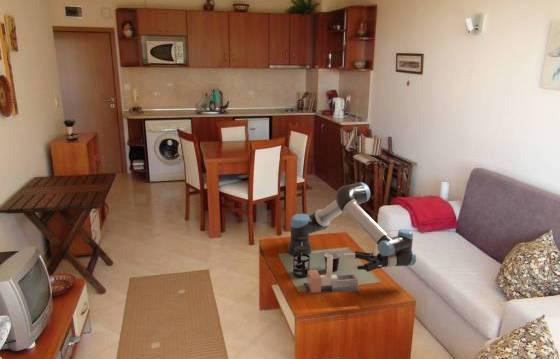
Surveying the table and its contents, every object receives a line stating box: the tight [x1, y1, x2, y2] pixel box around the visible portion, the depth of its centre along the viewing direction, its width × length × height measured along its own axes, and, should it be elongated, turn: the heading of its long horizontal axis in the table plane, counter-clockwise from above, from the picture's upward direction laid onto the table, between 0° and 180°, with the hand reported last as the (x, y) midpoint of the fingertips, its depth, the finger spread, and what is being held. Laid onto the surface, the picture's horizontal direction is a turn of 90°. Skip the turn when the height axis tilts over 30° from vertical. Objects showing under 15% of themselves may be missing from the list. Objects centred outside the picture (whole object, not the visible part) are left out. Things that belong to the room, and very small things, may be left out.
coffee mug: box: [324, 252, 341, 273], centre depth 256 cm, size 12×9×10 cm
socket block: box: [306, 269, 321, 293], centre depth 232 cm, size 10×5×8 cm, turn 9°
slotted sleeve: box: [302, 273, 360, 295], centre depth 234 cm, size 12×27×6 cm, turn 99°
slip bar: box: [319, 254, 338, 286], centre depth 232 cm, size 4×12×16 cm, turn 99°
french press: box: [292, 237, 311, 279], centre depth 247 cm, size 12×9×23 cm
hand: (346, 261), depth 232 cm, fingers open, 13 cm apart
